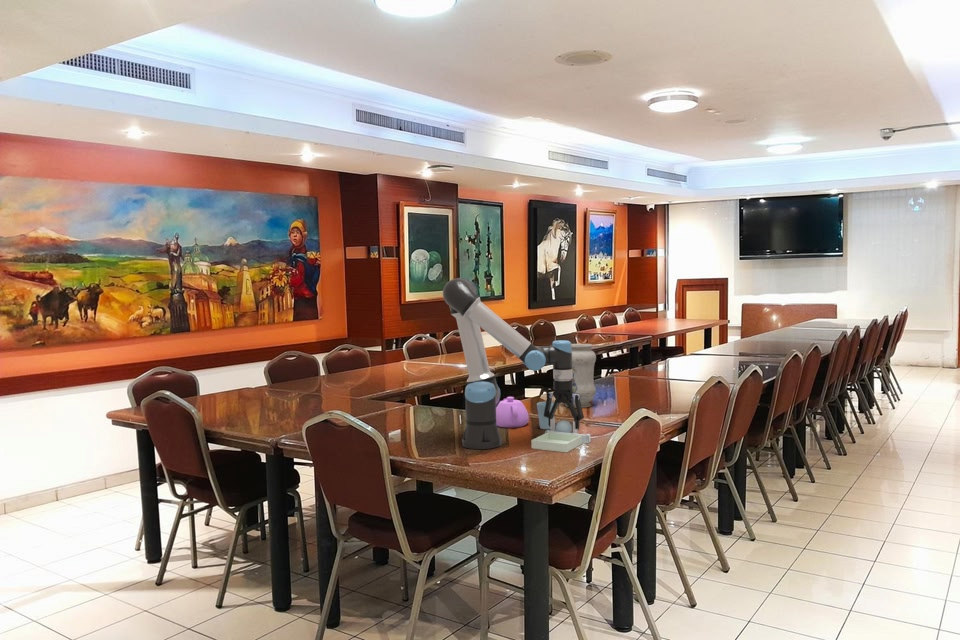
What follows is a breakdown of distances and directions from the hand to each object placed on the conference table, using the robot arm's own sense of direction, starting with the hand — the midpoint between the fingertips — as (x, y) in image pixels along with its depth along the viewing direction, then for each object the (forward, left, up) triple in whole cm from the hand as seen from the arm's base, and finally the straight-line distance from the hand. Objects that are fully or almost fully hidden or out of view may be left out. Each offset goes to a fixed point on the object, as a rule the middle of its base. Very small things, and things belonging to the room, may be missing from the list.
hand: (564, 435), depth 274 cm
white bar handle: (+4, -6, 0) cm, 7 cm away
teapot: (-30, +11, -1) cm, 32 cm away
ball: (0, 0, 0) cm, 0 cm away
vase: (-20, +61, 0) cm, 64 cm away
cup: (-13, +11, 0) cm, 17 cm away
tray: (+4, -15, 0) cm, 16 cm away
